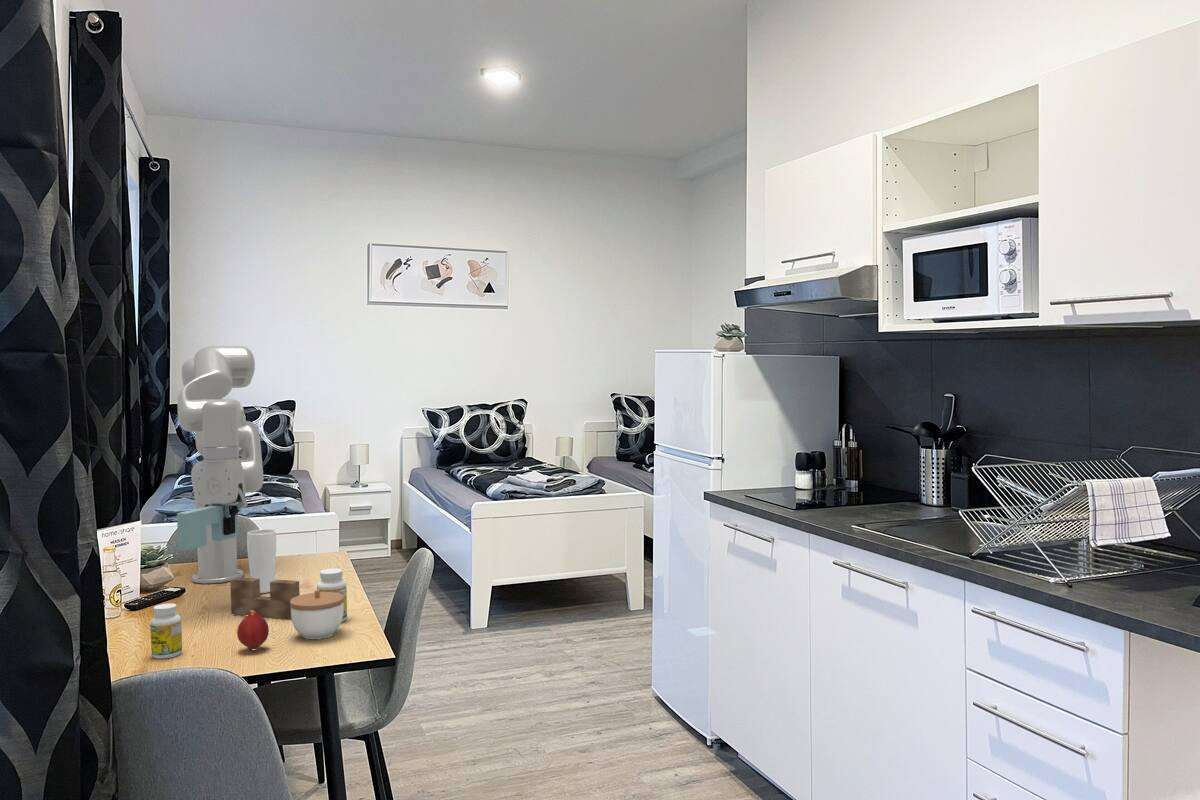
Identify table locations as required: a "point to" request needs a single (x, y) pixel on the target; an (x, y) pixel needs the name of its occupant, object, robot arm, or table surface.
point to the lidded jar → (317, 613)
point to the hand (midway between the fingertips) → (223, 533)
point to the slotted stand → (263, 597)
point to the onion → (253, 630)
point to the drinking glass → (262, 556)
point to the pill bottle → (334, 585)
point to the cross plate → (202, 526)
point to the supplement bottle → (166, 632)
